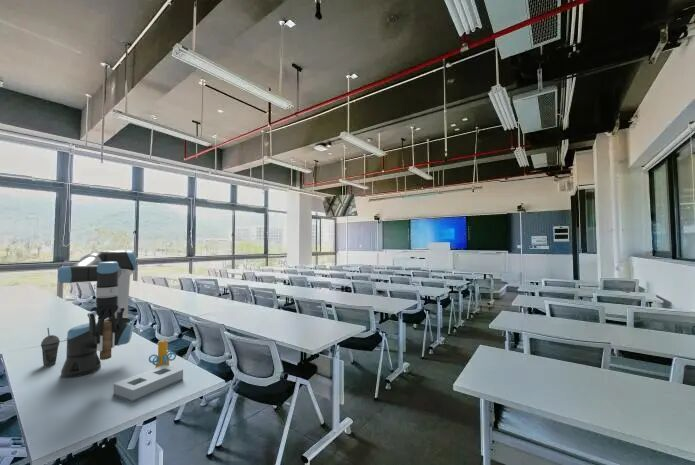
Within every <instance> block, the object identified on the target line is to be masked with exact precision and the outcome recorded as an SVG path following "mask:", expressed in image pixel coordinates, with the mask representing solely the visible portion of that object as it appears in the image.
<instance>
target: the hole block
mask: <svg viewBox="0 0 695 465" xmlns="http://www.w3.org/2000/svg"><path fill="white" fill-rule="evenodd" d="M182 381H184V369H181V368H178V367H174V366H171V365H169V366H167V365H162V366H159V367H157V368H155V367H154V368H152V369H149V370H146V371H144V372H141V373H138V374H135V375H133V376H130V377H128V378H125V379H123V380H120V381H117V382H114V383H113V389H112V390H113V391H112V392H113V395H112V396H114V397H117V398H119V399H122V400H124V401H127V402H130V403H132V404H134V403H136V402H138V401H140V400H142V399H145V398H146V397H149V396H151V395H153V394H155V393H158V392H160V391H162V390H164V389H167V388H169V387H171V386H174V385H175V384H178V383H180V382H182Z"/></svg>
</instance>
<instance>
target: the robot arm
mask: <svg viewBox="0 0 695 465" xmlns="http://www.w3.org/2000/svg"><path fill="white" fill-rule="evenodd" d="M136 259H137V258H136V254H135V251H133V250H100V251H95V252H92V253H88V254H86V255H84V256H81V258H80V259H79V261H78V262H76V263H75V264H73V265H66V266H64V265H63V266H59V268H58V271H57V280H58V281H57V282H58V283H61V284H73V283H86V282H88V283H90V282H94V283H95V282H96V290H95V291H96V292H95V293H96V294H95V296H96V299H95V309H94V311H93V312H89V313H87V314H86V315H87V318H88V323H83V324H80V325H77V326H73V327H71V328H70V329H68V330H67V335H66V359H65V361H64V363H63V365H62V368H61V371H60V377H61V378H77V377H81V376H86V375H88V374H92V373H95V372H97V371H99V370H100V369H101V367H102V366H101V365H102V362H101V360H100V356H99V355H98V352H100V351H102V343H103V336H101V331H102V327H103V323H104V321H112V347H111V349H113V348H115V346H118V347H119V346H121V345H122V346H123V345H127V344H128V343H130V341H131V338H132V335H133V330H134V321H132V320H131V317H130V316H129V315H128V312H129V297H130V283H131V280H130V279H131V275H133V274H134V271H136V270H138V268H137V260H136ZM96 316H98V317H97V322H96Z"/></svg>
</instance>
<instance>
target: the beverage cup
mask: <svg viewBox="0 0 695 465" xmlns="http://www.w3.org/2000/svg"><path fill="white" fill-rule="evenodd" d="M60 342H61V341H60V337H58V336H57V335H54V334H50V328H49V327H47V336H46V337H44V338H43V339H42V341H41V343H40V346H41V347H40V348H41V350H42V351H41V352H42V364H43V367H45V366H46V367H51V365H52V366H54V364H55V365H56V362H57V358H58V350H59V346H60Z"/></svg>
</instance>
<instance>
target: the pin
mask: <svg viewBox="0 0 695 465" xmlns="http://www.w3.org/2000/svg"><path fill="white" fill-rule="evenodd" d="M101 336H103V343H102V351H99V360H100V361H105V360H109V359H111V358H112V348H111V347H112V321H104V323H103V327H102V331H101Z"/></svg>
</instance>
